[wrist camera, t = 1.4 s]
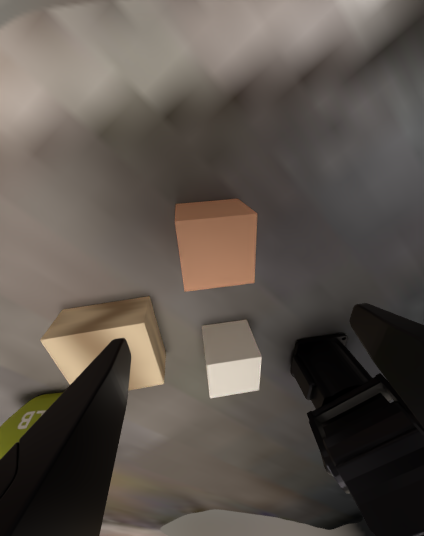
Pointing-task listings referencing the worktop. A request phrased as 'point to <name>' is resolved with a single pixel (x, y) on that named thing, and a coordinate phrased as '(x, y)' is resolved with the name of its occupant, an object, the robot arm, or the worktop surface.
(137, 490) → the worktop surface
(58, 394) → the dumbbell
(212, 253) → the terracotta cube
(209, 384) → the offwhite cube
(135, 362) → the oak base block
